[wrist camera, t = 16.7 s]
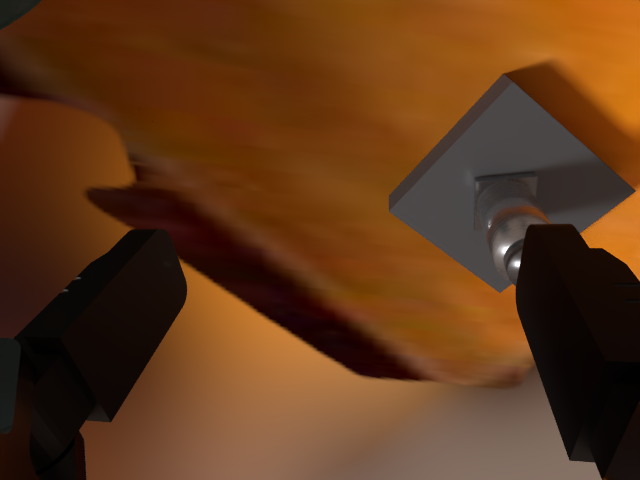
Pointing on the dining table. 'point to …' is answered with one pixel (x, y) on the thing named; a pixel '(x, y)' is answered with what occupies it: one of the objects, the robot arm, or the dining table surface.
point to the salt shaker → (507, 216)
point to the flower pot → (14, 10)
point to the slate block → (501, 159)
